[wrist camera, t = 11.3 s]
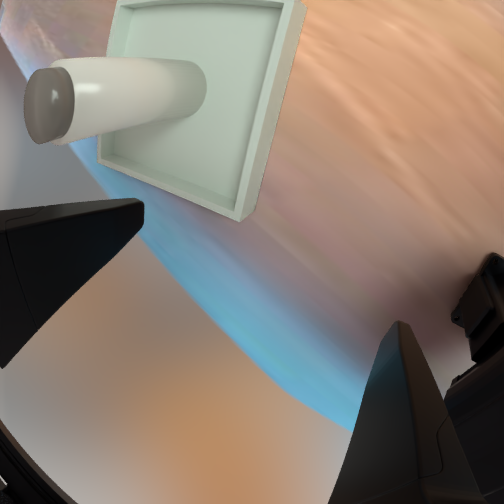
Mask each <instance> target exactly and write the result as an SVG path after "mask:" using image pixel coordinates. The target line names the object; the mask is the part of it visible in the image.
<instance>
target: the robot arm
mask: <svg viewBox="0 0 504 504" xmlns="http://www.w3.org/2000/svg"><path fill="white" fill-rule="evenodd" d="M143 224H144V203H143V202H142V201H140V200H138V199H136V198H125V199H111V200H99V201H88V202H77V203H67V204H58V205H49V206H40V207H31V208H21V209H11V210H0V367H1V368H2V369H3V368H4V367H5V366H6V365H7V364H8V363H9V362H10V361H11V359H12V358H13V357H14V356H15V355H16V354H17V353H18V352H19V351H20V349H21V348H22V347H23V346H24V345H25V344H26V343H27V342H28V341H29V340H30V338H31V337H32V336H33V335H34V334H35V333H36V332H37V331H38V330H39V329H40V328H41V327H42V326H43V324H44V323H45V322H46V321H47V320H48V319H49V318H50V317H51V316H52V315H53V314H54V313H55V312H56V311H57V310H58V309H59V308H60V307H61V306H62V305H63V304H64V303H65V302H66V301H67V300H68V299H69V298H70V297H71V296H72V295H74V293H75V292H77V291H78V290H79V289H80V288H81V287H82V286H83V285H84V284H85V283H86V282H87V281H88V280H89V279H90V278H91V277H92V276H94V275H95V274H96V273H97V272H98V271H99V270H100V269H101V268H102V267H103V266H105V265H106V264H107V263H108V262H109V261H110V260H111V259H112V258H113V257H114V256H115V255H116V254H117V253H118V252H119V251H120V250H121V249H122V248H123V247H124V246H125V245H126V244H127V243H128V242H129V241H130V240H131V239H132V238H133V237H134V235H135V234H136V233H137V232H138V231H139V230H140V229H141V228H142V226H143ZM494 259H497V261H496V262H494V263H493V260H494ZM456 316H459V317H458V318H455V317H456ZM451 320H452V322H453V323H455V324H457V325H459V326H461V327H463V328H464V329H465V336H466V337H467V338H468V339H469V345H470V352H471V359H472V361H474V362H476V364H475V365H474V366H472V367H471V368H470V369H468V370H467V371H466V372H464V373H463V374H462V375H458V376H457V377H455V378H454V379H453V380H452V383H451V386H450V388H449V389H448V390H447V393H446V395H445V398H444V401H443V398H442V396H441V393H440V391H439V389H438V386H437V384H436V381H435V379H434V377H433V375H432V372H431V370H430V368H429V366H428V363H427V361H426V359H425V357H424V355H423V352H422V350H421V348H420V346H419V344H418V342H417V340H416V338H415V336H414V334H413V332H412V330H411V328H410V326H409V325H408V324H406V323H404V322H402V321H400V320H397V321H396V322H395V323H394V324H393V325H392V327H391V328H390V329H389V331H388V332H387V333H386V335H385V336H384V338H383V339H382V341H381V343H380V346H379V349H378V352H377V355H376V358H375V361H374V364H373V367H372V370H371V373H370V376H369V378H368V381H367V384H366V387H365V391H364V395H363V398H362V402H361V406H360V410H359V414H358V417H357V421H356V424H355V428H354V431H353V434H352V437H351V441H350V444H349V447H348V450H347V453H346V456H345V459H344V462H343V465H342V468H341V471H340V473H339V476H338V479H337V481H336V484H335V487H334V489H333V492H332V495H331V497H330V499H329V502H328V504H504V258H503V257H502V256H500V255H499V254H497V253H493V254H491V255H490V257H489V258H488V260H487V262H486V263H485V265H484V267H483V268H482V270H481V271H480V273H479V275H477V276H475V278H474V279H473V281H472V282H471V284H470V285H469V287H468V288H467V290H466V291H465V293H464V294H463V296H462V297H461V299H460V300H459V304H458V305H457V307H456V308H455V310H454V311H453V312H452V314H451ZM0 475H1V477H2V478H3V479H4V480H5V482H6V483H7V485H5V484H4V483H3V481H2V480H1V479H0V504H78V503H76V502H75V501H74V500H73V499H72V498H71V497H70V496H68V495H67V494H66V493H65V492H64V491H63V490H62V489H61V488H60V487H59V486H57V484H56V483H55V482H54V481H53V480H52V479H51V478H49V476H48V475H46V473H45V472H44V471H43V470H42V469H41V468H40V467H39V466H38V465H37V464H36V463H35V462H34V460H33V459H32V458H31V457H30V456H29V455H28V454H27V453H26V452H25V450H24V449H23V448H22V447H21V446H20V444H19V443H18V442H17V441H16V439H15V438H14V437H13V436H12V434H11V433H10V432H9V430H8V429H7V428H6V427H5V425H4V424H3V422H2V421H1V420H0Z"/></svg>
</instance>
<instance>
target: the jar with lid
mask: <svg viewBox="0 0 504 504" xmlns="http://www.w3.org/2000/svg"><path fill="white" fill-rule="evenodd" d="M206 92H207V82H206V78H205V75H204V73H203V71H202V69H201V68H200V67H199V66H198V65H197V64H195V63H193V62H191V61H187V60H177V59H165V58H148V57H87V58H71V59H60V60H56V61H54V62H53V63H52V64H51V65H50V66H49V67H48V68H44V69H38V70H36V71H35V72H34V73H33V74H32V75H31V77H30V79H29V81H28V84H27V87H26V90H25V96H24V118H25V123H26V127H27V130H28V133H29V135H30V137H31V138H32V140H33V141H34V142H35V143H37V144H43V143H46V142H49V141H50V142H51V143H53V144H54V145H57V146H59V145H64V144H67V143H71V142H74V141H78V140H81V139H85V138H89V137H92V136H96V135H100V134H104V133H108V132H113V131H117V130H121V129H126V128H130V127H135V126H140V125H145V124H151V123H156V122H162V121H168V120H174V119H180V118H186V117H189V116H191V115H193V114H194V113H196V112H197V111H198V110H199V108H200V107H201V106H202V104H203V102H204V100H205V97H206Z"/></svg>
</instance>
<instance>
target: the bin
mask: <svg viewBox="0 0 504 504" xmlns="http://www.w3.org/2000/svg"><path fill="white" fill-rule="evenodd" d="M306 11H307V7H306V6H305V5H304V4H303V3H302V2H301V1H300V0H118V1H117V4H116V8H115V13H114V17H113V22H112V26H111V31H110V36H109V42H108V47H107V53H106V57H148V58H165V59H177V60H187V61H191V62H193V63H195V64H197V65H198V66H199V67H200V68H201V69H202V71H203V73H204V75H205V78H206V82H207V92H206V97H205V100H204V102H203V104H202V106H201V107H200V108H199V110H198V111H197V112H196V113H194V114H193V115H191V116H189V117H186V118H180V119H174V120H168V121H162V122H156V123H151V124H145V125H140V126H135V127H130V128H126V129H121V130H117V131H113V132H108V133H104V134H100V135H98V143H97V163H99V164H102V165H104V166H107V167H109V168H112V169H114V170H117V171H119V172H122V173H124V174H126V175H129V176H131V177H134V178H136V179H139V180H141V181H143V182H146V183H148V184H151V185H153V186H156V187H158V188H160V189H163V190H165V191H167V192H170V193H172V194H175V195H177V196H179V197H182V198H184V199H186V200H189V201H191V202H194V203H196V204H198V205H201V206H203V207H205V208H208V209H210V210H212V211H215V212H217V213H219V214H221V215H224V216H226V217H228V218H231V219H233V220H235V221H238V222H240V221H242V220H243V219H244V218H246V217H247V216H248V215H250V214H251V213H252V212H253V211H254V210H255V206H256V202H257V198H258V194H259V190H260V186H261V183H262V179H263V175H264V171H265V167H266V163H267V159H268V155H269V151H270V147H271V144H272V140H273V136H274V132H275V128H276V124H277V120H278V117H279V113H280V109H281V105H282V101H283V97H284V94H285V90H286V86H287V82H288V78H289V75H290V71H291V67H292V63H293V59H294V56H295V52H296V48H297V44H298V41H299V37H300V33H301V29H302V26H303V22H304V18H305V14H306Z"/></svg>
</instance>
